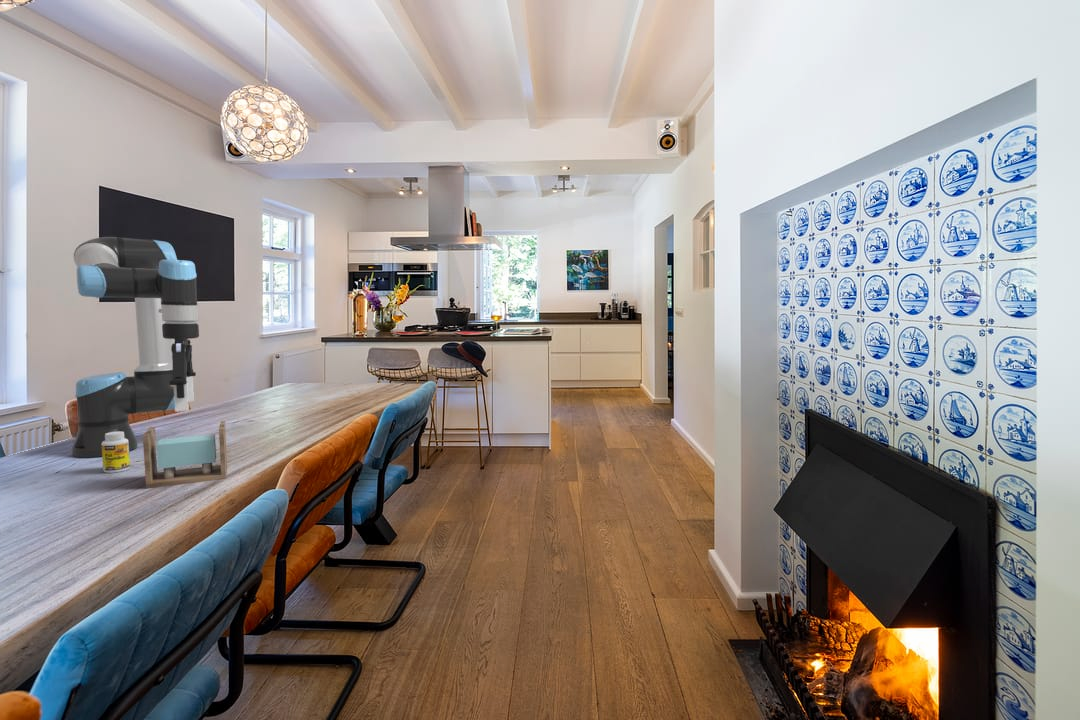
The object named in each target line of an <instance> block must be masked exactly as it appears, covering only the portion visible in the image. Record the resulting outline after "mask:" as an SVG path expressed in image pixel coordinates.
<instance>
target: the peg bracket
mask: <svg viewBox="0 0 1080 720" xmlns="http://www.w3.org/2000/svg"><path fill="white" fill-rule="evenodd" d="M155 429H156V427H155V426H151V427H149V428H147V430H146V431H145V433H144V434H143V435H142V446H143V459H144V475H145V476H144V477H145V489H153V488H154V489H155V488H161V487H169V486H176V485H183V484H184V485H185V484H192V483H193V484H194V483H199V482H207V481H215V480H223V479H226V478H227V474H228V473H227V472H228V451H227V433H226V432H227V431H226V421H225V420H222V421H220V423H219V427H218V436H219V437H218V438H219V440H218V441H219V457H220V460H219V461H220V464H217V465H213V462H212V463H204V464H201V467H194V468H193V467H192V468H185V469H176V468H177V467H171V468H163V471H158V460H157V443H156V441H157V440H156V430H155Z"/></svg>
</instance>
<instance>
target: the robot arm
mask: <svg viewBox="0 0 1080 720" xmlns="http://www.w3.org/2000/svg"><path fill="white" fill-rule="evenodd" d="M73 261H74V264H75V265H76V283H77V285H76V286H77V291H78V294H79V296H82V297H88V298H89V297H91V298H97V299H98V298H99V299H100V298H123V299H124V298H131V299H132V298H133V299H134V305H135V317H136V318H135V319H136V331H137V345H138V358H139V359H138V361H139V364H138V366H137V367H135V369H134V370H133V376H127V374H126V373H125V372H121V371H120V372H119V371H118V372H110V373H109V372H108V373H102V374H96V375H92V376H87V377H83V378H81V379H80V380H78V381H76V384H75V394H74V395H75V398H76V406H77V408H76V411H77V424H78V429H77V432H76V436H75V439H74V441H73V445H72V448H71V449H72V451H71V453H72V456H73V457H76V458H99V457H102V442H103V441H105V434H106V433H110V432H118V431H121V432H124V438H126V439H128V442H129V452H131V451H133V450H136V449H137V448H138V439H137V437H136V435H135V433H134V431H133V429H132V427H131V426H130V422H129V415H134V414H135V415H136V414H143V413H144V414H145V413H154V412H167V411H171V410H174V412H177V413H178V412H188V411H189V410H190V408H189V407H190V405H189V402H194V401H195V395H194V394H195V393H194V391H195V390H194V377H196V375H197V374H196V371H194V368H193V360H192V359H193V357H192V356H193V353H192V352H193V347H192V346H193V345H192V343H191V340H190V339H198V338H199V336H200V328H199V324H198V323H197V322H198V321H199V305H198V297H197V296H198V295H197V293H198V291H197V275H198V274H197V271H196V265H195V263H194V262H193V261H192V260H184V259H183V260H182V259H181V260H180V259H178V258H177V255H176V251H175V249H174V247H173V246H172V244H171V243H169V242H167V241H162V240H157V239H144V238H143V239H142V238H133V237H132V238H131V237H130V238H129V237H128V238H127V237H116V236H103V237H95V238H91V239H89V240H87V241H86V240H85V241H83V242H82V243H81V244H79V245H78V246H77V247H76V249H75V250H74V252H73ZM172 339H173V340H174V343H172V341H173V340H172Z"/></svg>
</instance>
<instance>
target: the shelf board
mask: <svg viewBox="0 0 1080 720" xmlns="http://www.w3.org/2000/svg"><path fill="white" fill-rule="evenodd" d="M216 449H217V447H216V434H215V433H214V434H206V435H195V436H186V437H185V436H184V437H176V438H164V439H159V440H158V442H157V443H156V457H157V470H161V469H163V470H164V468H171V467H176V468H177V467H186V466H187V467H188V466H195V465H202V464H204V463H212V464H213V463H216V462H217V461H216V460H217V450H216Z"/></svg>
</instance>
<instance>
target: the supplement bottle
mask: <svg viewBox="0 0 1080 720" xmlns="http://www.w3.org/2000/svg"><path fill="white" fill-rule="evenodd" d="M101 457H102V470H103V472H104V473H107V474H109V473H110V474H114V473H120V472H121V473H122V472H124V471H127V470H129V469H130V466H131V465H130V464H131V461H130V451H129V442H128V439H126V438H124V432H121V431H118V432H110V433H106V434H105V441H103V442H102V456H101Z"/></svg>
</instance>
